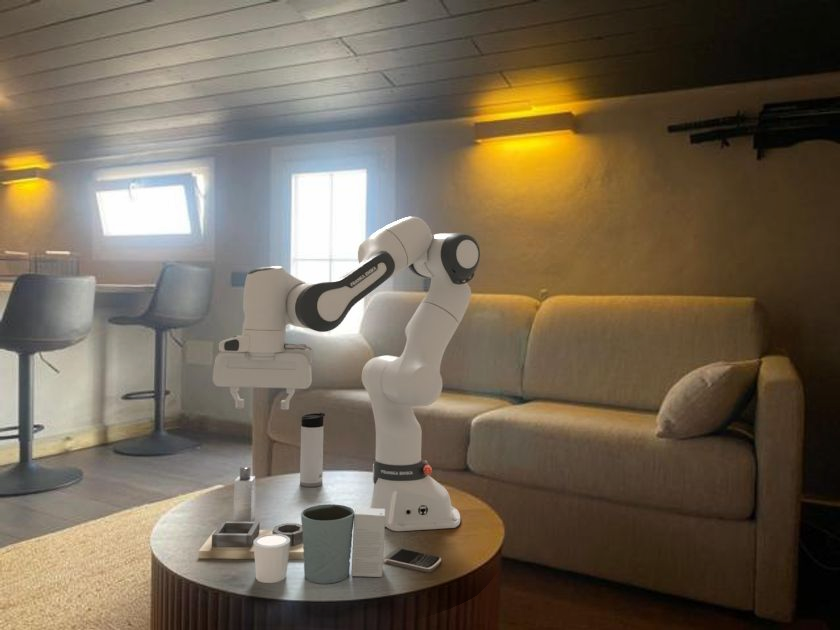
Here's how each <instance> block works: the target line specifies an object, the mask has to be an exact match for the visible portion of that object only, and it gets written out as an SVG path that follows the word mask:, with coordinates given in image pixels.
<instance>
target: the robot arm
mask: <svg viewBox="0 0 840 630" xmlns="http://www.w3.org/2000/svg"><path fill="white" fill-rule="evenodd" d="M428 225H429V224H427V223H426V221H425V220H423V219H421V218H420V217H418V216H408V217H404V218H401V219H399V220H396V221H394V222H392V223H390V224H387V225H386V226H383V227H382V228H380V229H378V230H377V231H375V232H373V233H372V234H371V235H369V236H368V237H367V238H366V239H364V241H362V242H361V244H359V246H358V251H357V258H358V259H357V260H358V262H359V264H357V265H356V266H355V267H353V268H351V269H350V270H349V271H347V272H346V273H345V274H343V275H341V276H340V277H338V278H337V279H335V280H332V281H325V282H324V281H323V282H317V283H306V281H303V280H301V279H299V278H297V277H295V276H294V275H292V274H291V273H289V272H288V271H287V270H286V269H285V268H284V267H283V266H279V265H271V266H262V267H257V268H253V269H251V270H249V272H248V273H247V275H246V277H245V281H244V288H243V298H242V299H243V300H242V301H243V302H242V308H243V309H242V310H243V313H244V321H243V325H242V333H241V335H234V336H233V337H231V338H227V339H224V340H221V341H220V342H219V343H218V350H219V351H220V352H219V353H218V354H217V355H216V356H215V360H214V363H213V364H214V365H213V370H212V382H213V384H214V386H215V387H224V388H225V387H229V392H230V394H231V395H232V398H233V400H234V401H235V402H234V404H235V405H234V406H235V409H244V408H245V398H241V396H240V395H239V393H238V392H239V391H240V388H265V389H267V388H268V389H286V394H288V395H287V396H286V398H285V399H282V400H281V401H280V410H283V411H284V410H289V408H290V400H291V399H292V397H293V396H294V394H295V393H296V392H295V391H296V389H300V390H301V389H303V390H305V389H306V390H307V389H308V388H309V387H310V386H311V385H312V382H313V381H312V380H313V376H312V365H313V362H314V350H313V349H312V347H310V346H308V345H307V344H304V343H301V344H300V343H299V344H295V343H286V335H287V334H286V331H287V330H286V329H287V325H291V326H293V327H298V328H301V329H302V328H304V329H309V330H311V331H315V332H319V333H326V332H327V333H328V332H329V331H334V329H336V328H337V327H339V325H341V324H342V323H343V321H344V320H345V319H346V316H347V315H348V314H349V312H350V310H351V309H352V308H353V307H354V306H355V305H356V304H357V303H358V302H360V301H361V300H363V299H364V298H365V297H366V296H368V295H369V294H370V293H372V292H373V291H375V290H376V289H377V288H378V287H380V286H381V285H382V284H383V283H385V282H386V281H387V280H389V279H391V278H393V277H394V276H396V275H398V274H400V273H401V272H403V271H405V269H407V268H409V270H410V271H411V272H412V273H413V274H414V275H416V276H419V277H421V278H430V286H429V290H428V291H427V293H426V294H425V296H424V297H423V299H422V300H421V302H420V304H419V305H418V307H417V309H416V310H415V311H414V314H413V315H412V316H411V318H410V320H408V323H407V325H406V327H405V329H404V332H405V337H406V343H405V346H404V349H403V352H402V353H401V354H400V356H395V355H386V354H385V355H380V356H375V357H373V358H371V359H369V360H368V361H367V362H366V363H365V364H364V366H363V368H362V372H361V383H362V385H363V387H364V388H365V390H366V392H367V394H368V398H369V401H370V404H371V408H372V414H373V418H374V425H375V458H374V459H373V464H372V481H373V488H372V489H373V491H372V496H371V501H370V507H369V508H373V509H385V528H387V529H389V530H391V531H393V532H407V531H410V532H411V531H422V530H423V531H424V530H426V531H427V530H437V529H439V530H442V529H454V528H457V527H458V526H459V525H460V524H461V514H460V512H459V510H458V509H457V508H456V507H454V506H452V501H451V497H450V493H449V492H448V490H447V489H446V488H445V486H443V485H441V483H439V482H438V481H437V480H435V479H434V478H433V477H431V476H430V475H431V474H432V473H433V469H432V466H431V465H430V463H429V462H428V461H427V460H426V459H423V458H422V435H423V433H422V432H423V431H422V427H421V424H420V423H419V421H418V420H417V417H416V415H415V412H414V409H413V408H417V407H428V406H430V405H432V404H435V402H436V401H437V400H438V399H439V397H440V396H441V394H442V390H443V377H442V375H441V364H442V359H443V356H444V353H445V351H446V349H447V347H448V345H449V343H450V341H451V340H452V337H453V336H454V334H455V333H456V330H457V329H458V327H459V325H460V323H461V321H462V320H463V318H464V315H465V314H466V311H467V309H468V306H469V303H470V300H471V298H472V297H471V296H472V290H471V287H470V285H469V283H468V282H470V281H471V280H472V279H473V278H474V276H475V272H476V271H477V268H478V267H479V262H480V260H481V259H480V258H481V257H480V256H481V250H480V246H479V244H478V241H477V240H476V238H474V237H473V236H471V235H469V234H466V233H463V232H452V233H450V232H443V233H442V232H441V233H435V234H432V231H431V229H430V227H429V226H428Z"/></svg>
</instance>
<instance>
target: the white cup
mask: <svg viewBox="0 0 840 630" xmlns="http://www.w3.org/2000/svg"><path fill="white" fill-rule="evenodd" d="M289 547H290V538H289V537H288V536H285V535H282V534H267V535H263V536H260V537H257V538H256V539H255V540H254V555H255V559H254V566H255V578H256V580H257V581H258V582H259V583H265V584H272V583H274V584H275V583H278V582H282V581H283V580H285V579H286V577H287V571H288V563H289V559H288V556H289Z"/></svg>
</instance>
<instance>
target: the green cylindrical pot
mask: <svg viewBox="0 0 840 630" xmlns="http://www.w3.org/2000/svg"><path fill="white" fill-rule="evenodd" d="M354 513H355V510H354V509H353V508H352V507H349V506H346V505H342V504H336V503H335V504H334V503H331V504H330V503H329V504H328V503H327V504H318V505H313V506H309V507H307V508H304V509H303V510H302V511H301V513H300V519H301V525H302V530H303V545H304V546H303V549H304V552H303V554H304V559H303V562H304V563H303V570H304V576H305V579H306V580H308V581H309V582H311V583H314V584H322V585H323V584H325V585H326V584H333V583H338V582H341V581H344V580H345V579H346V578H348V577H349V574H350V568H351V567H350V565H351V562H350V561H351V558H352V557H351V556H352V555H351V554H352V543H353V531H354Z"/></svg>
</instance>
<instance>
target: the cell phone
mask: <svg viewBox="0 0 840 630" xmlns="http://www.w3.org/2000/svg"><path fill="white" fill-rule="evenodd" d="M441 562H442V558H441V557H439V556H436V555H433V554H432V555H431V554H428V553H422V552H417V551H413V550H409V549H404V548H399V547H398V548H396V549H394V550H393V551H392V552H390V553H389V554H388V555H386V556H385V557H383V564H386V565H387V564H388V565H392V566H396V567H401V568H404V569H409V570H413V571H414V570H415V571H418V572H423V573H427V574H428V573H431V572H433V571H434V570H436V569H437V567H439V565H441Z"/></svg>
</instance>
